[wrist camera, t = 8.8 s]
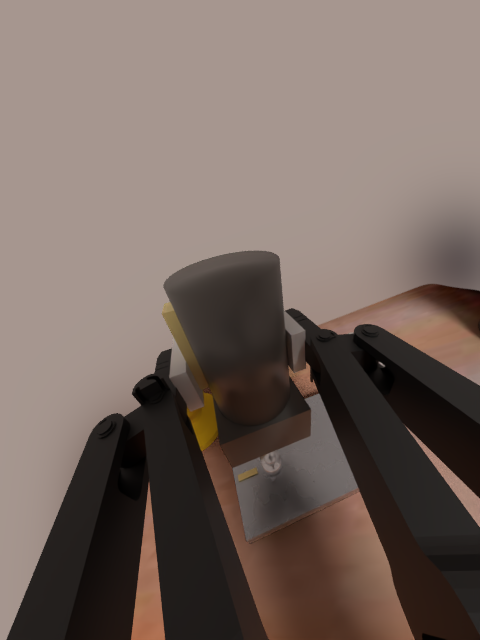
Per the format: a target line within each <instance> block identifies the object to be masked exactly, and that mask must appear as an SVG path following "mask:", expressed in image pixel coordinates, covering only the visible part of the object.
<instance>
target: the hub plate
mask: <svg viewBox="0 0 480 640" xmlns="http://www.w3.org/2000/svg"><path fill="white" fill-rule="evenodd" d="M305 401H306V402H307V404H308V405H309V407H310V408H311V436H309V437H307V438H305V439H302V440H300V441H297V442H295V443H292V444H290V445H288V446H285V447H283V448H280V449H278V450H275V451H273V452H271V453H268V454H266V455H263V456H261V457H259V458H256V459H254V460H251V461H249V462H246V463H244V464H242V465H239V466H237V467H234V468H232V469H233V474H234V479H235V484H236V489H237V495H238V500H239V505H240V510H241V516H242V521H243V526H244V531H245V536H246V541H247V542H248V543H249V544H251V543H253V542H255V541H257V540H259V539H261V538H263V537H265V536H267V535H269V534H272V533H274V532H276V531H278V530H280V529H282V528H284V527H286V526H288V525H290V524H292V523H295V522H297V521H299V520H301V519H303V518H305V517H307V516H309V515H311V514H313V513H315V512H318V511H320V510H322V509H324V508H326V507H328V506H330V505H332V504H334V503H336V502H339V501H341V500H343V499H345V498H347V497H349V496H351V495H353V494H355V493H357V492H359V488H358V486H357V483H356V481H355V479H354V476H353V474H352V471H351V469H350V467H349V464H348V462H347V459H346V457H345V454H344V452H343V450H342V447H341V445H340V442H339V440H338V438H337V435H336V433H335V430H334V428H333V425H332V423H331V421H330V418H329V416H328V413H327V411H326V409H325V406H324V404H323V401H322V399H321V396H320V394H316V395H314V396H311V397H309V398H306V399H305Z"/></svg>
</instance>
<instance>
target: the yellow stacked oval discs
mask: <svg viewBox="0 0 480 640" xmlns="http://www.w3.org/2000/svg"><path fill="white" fill-rule="evenodd" d="M203 399H204V407H201V408H199V409H196V410H193V411H191V412H190V410H189V408H188V407H187V415H188V417H189V418H190V420H191V423H192V426H193V429H194V432H195V434H196V437H197V440H198V443H199V446H200V449H201V451H203V450H204V449H206V448H207V447H208V446H210V445H211V444H212V443H213V442H214V440H215V439H216V438H217V436H218V428H217V422H216V415H215V409H214V402H213V396H212V395H211V394H208V393H204V391H203Z"/></svg>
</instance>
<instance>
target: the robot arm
mask: <svg viewBox="0 0 480 640" xmlns="http://www.w3.org/2000/svg"><path fill="white" fill-rule="evenodd" d="M284 321H285V333H286V345H287V358H288V365H289V367H290V368H291V369H292V371H293V372H294V373H295V372H298V371H300V370H303V369H306V362H307V363H308V364H309V365H310V380H311V382H313V380H314V382H315V384H316V387H317V389H318V392H319V394H320V396H321V399H322V401H323V404H324V406H325V409H326V411H327V413H328V416H329V418H330V421H331V423H332V425H333V428H334V430H335V433H336V435H337V438H338V440H339V442H340V445H341V447H342V450H343V452H344V454H345V457H346V459H347V462H348V464H349V467H350V469H351V471H352V474H353V476H354V479H355V481H356V483H357V486H358V488H359V491H360V493H361V496H362V498H363V500H364V503H365V505H366V508H367V510H368V512H369V515H370V517H371V520H372V522H373V525H374V527H375V529H376V532H377V534H378V537H379V539H380V541H381V544H382V546H383V549H384V551H385V553H386V556H387V559H388V561H389V564H390V568H391V572H392V577H393V582H394V586H395V589H396V592H397V595H398V598H399V601H400V603H401V606H402V609H403V611H404V614H405V616H406V619H407V621H408V624H409V626H410V629H411V631H412V634H413V636H414V639H415V640H480V527H479V526H478V525H477V523H476V522H475V520H474V519H473V518H472V516H471V515H470V514H469V512H468V511H467V510H466V508H465V507H464V506H463V504H462V503H461V501H460V500H459V499H458V497H457V496H456V495H455V493H454V492H453V491H452V489H451V488H450V486H449V485H448V484H447V482H446V481H445V480H444V478H443V477H442V476H441V474H440V473H439V472H438V470H437V469H436V467H435V466H434V465H433V463H432V462H431V461H430V459H429V458H428V457H427V455H426V454H425V453H424V451H423V450H422V448H421V447H420V446H419V444H418V443H417V442H416V440H415V439H414V438H413V436H412V435H411V434H410V432H409V431H408V429H409V430H410V431H411V432H413V433H414V434H415V435H416V436H417V437H418V438H419V439H420V440H421V441H422V442H423V443H424V444H425V445H426V446H427V447H428V448H429V449H430V450H431V451H432V452H433V453H434V454H435V455H436V456H437V457H438V458H439V459H440V460H441V461H442V462H443V463H444V464H445V465H446V466H447V467H448V468H449V469H450V470H451V471H452V472H453V473H454V474H455V475H456V476H457V477H458V478H460V479H461V480H462V481H463V482H464V483H465V484H466V485H467V486H468V487H469V488H470V489H471V490H472V491H473V492H474V493H475V494H476V495H477V496H478V497H479V498H480V386H479V385H477V384H476V383H474V382H472V381H471V380H469V379H467V378H466V377H464V376H462V375H461V374H459V373H457V372H455V371H454V370H452V369H450V368H449V367H447V366H445V365H444V364H442V363H440V362H439V361H437V360H435V359H433V358H432V357H430V356H428V355H427V354H425V353H423V352H422V351H420V350H418V349H417V348H415V347H413V346H411V345H410V344H408V343H406V342H405V341H403V340H401V339H400V338H398V337H396V336H395V335H393V334H391V333H389V332H388V331H386V330H384V329H383V328H381V327H378V326H376V325H371V324H363V325H359V326H357V327H356V328H355V329H354V333H353V334H343V335H337V334H336V333H335V332H333V331H331V330H327V329H320V328H319V327H318V326H317V325H315V324H314V323H313V322H312V321H311V320H309V319H308V318H307V317H306V316H305V315H303V314H302V313H301V312H300V311H298V310H295V309H289V310H286V311H284ZM478 326H479V329H480V321H479V324H478ZM379 362H381V363H382V364H383V365H384V366H385V367H384V366H382V365H381V364H380V363H379ZM132 395H133V396H134V397H135V398H136V400H137V401H138V402H139V403H140V404H141V406H140V407H139V408H137V409H136V410H134V411H133V412H131V413H129V414H128V415H126V416H125V417H123V416H122V415H121V414H118V413H116V414H111V415H109V416H107V417H106V418H104V419H103V420H102V421H100V422H99V423H98V424H97V425H96V427H95V428H94V429H93V431H92V432H91V434H90V436H89V438H88V441H87V443H86V446H85V448H84V451H83V453H82V456H81V458H80V460H79V463H78V465H77V468H76V470H75V473H74V476H73V478H72V480H71V483H70V485H69V487H68V490H67V493H66V495H65V497H64V500H63V502H62V505H61V507H60V510H59V512H58V515H57V517H56V519H55V522H54V525H53V527H52V529H51V532H50V534H49V537H48V539H47V542H46V544H45V546H44V549H43V552H42V554H41V556H40V559H39V561H38V564H37V566H36V569H35V571H34V573H33V576H32V578H31V581H30V583H29V586H28V589H27V591H26V593H25V596H24V598H23V601H22V603H21V606H20V608H19V611H18V613H17V615H16V618H15V620H14V623H13V625H12V627H11V630H10V633H9V635H8V637H7V640H131V634H132V625H133V617H134V608H135V599H136V590H137V581H138V572H139V563H140V554H141V546H142V537H143V528H144V519H145V510H146V501H147V492H148V483H150V493H151V503H152V513H153V523H154V533H155V543H156V552H157V562H158V572H159V582H160V592H161V602H162V611H163V621H164V631H165V640H269V639H268V637H267V635H266V632H265V630H264V627H263V625H262V622H261V619H260V616H259V613H258V611H257V608H256V605H255V602H254V599H253V596H252V594H251V591H250V588H249V585H248V582H247V579H246V577H245V574H244V571H243V568H242V565H241V562H240V559H239V557H238V554H237V551H236V548H235V545H234V542H233V540H232V537H231V534H230V531H229V528H228V525H227V523H226V520H225V517H224V514H223V511H222V508H221V505H220V503H219V500H218V497H217V494H216V491H215V488H214V486H213V483H212V480H211V477H210V474H209V471H208V469H207V466H206V463H205V460H204V457H203V454H202V451H201V449H200V446H199V443H198V440H197V437H196V434H195V432H194V429H193V426H192V423H191V420H190V418H189V417H188V415H187V407H188V408H189V410H190V412H191V411H193V410H196V409H199V408H201V407H204V399H203V389H202V390H201V389H200V387H199V385H198V384H197V382H196V380H195V378H194V376H193V374H192V372H191V370H190V368H189V366H188V364H187V362H186V361H185V359H184V357H183V355H182V353H181V351H180V349H179V347H178V345H177V343H176V341H175V339H174V337H173V343H172V349H169V350H166V351H163V352H161V354H160V355H159V357H158V358H157V363H156V368H155V373H154V374H151V375H148V376H146V377H144V378H143V379H141V380H140V381H139V382H138V383H137V384H136V385H135V387H134V389H133V392H132ZM405 426H406V427H407V428H408V429H407V428H406V427H405Z"/></svg>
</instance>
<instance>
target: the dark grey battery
mask: <svg viewBox="0 0 480 640" xmlns="http://www.w3.org/2000/svg"><path fill="white" fill-rule="evenodd" d="M164 289H165V291H166V293H167V296H168V298H169V300H170V302H169V303H166V304H164V308H163V311H162V315H163V317H164V319H165V321H166V323H167V325H168V327H169V329H170V331H171V333H172V335H173V337H174V339H175V341H176V343H177V345H178V347H179V349H180V351H181V353H182V355H183V357H184V359H185V361H186V362H187V364H188V366H189V368H190V370H191V372H192V374H193V376H194V378H195V380H196V382H197V384H198V385H199V387H200V389H201V390H202V389H205V388H208V387H209V388H210V390H211V392H212V396H213V402H214V409H215V415H216V422H217V428H218V435H219V442H220V446H221V448H222V450H223V451H224V453H225V455H226V457H227V459H228V460H229V462H230V464H231V466H232V468H234V467H237V466H239V465H242V464H244V463H246V462H249V461H251V460H254V459H256V458H259V457H261V456H263V455H266V454H268V453H271V452H273V451H275V450H278V449H280V448H283V447H285V446H288V445H290V444H292V443H295V442H297V441H300V440H302V439H305V438H307V437H309V436H311V408H310V407H309V405H308V404H307V402H306V401H305V399H304V398H303V396H302V395H301V393H300V391H299V390H298V388H297V387H296V385H295V384H294V382H293V381H292V379H291V378H290V376H289V370H288V358H287V345H286V333H285V321H284V308H283V296H282V284H281V272H280V259H279V256H277V255H276V254H274V253H272V252H267V251H244V252H236V253H230V254H224V255H220V256H216V257H212V258H209V259H206V260H202V261H200V262H197V263H194V264H192V265H189V266H187V267H185V268H183V269H181V270H179V271H177V272H176V273H174V274H173V275H171V276H170V277H169V278H168V279H167V280H166V281H165V283H164Z"/></svg>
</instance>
